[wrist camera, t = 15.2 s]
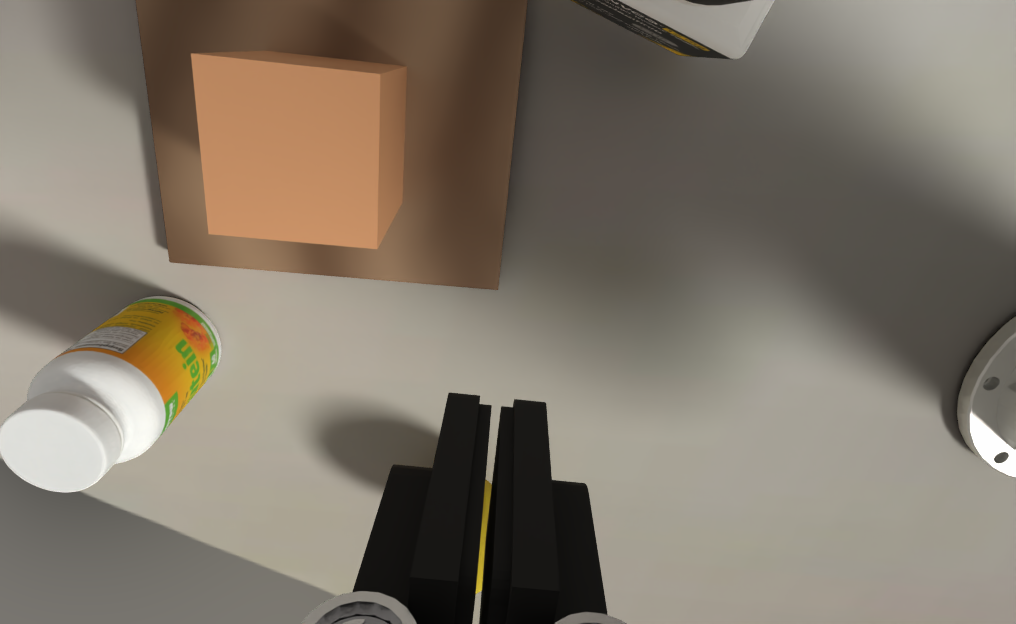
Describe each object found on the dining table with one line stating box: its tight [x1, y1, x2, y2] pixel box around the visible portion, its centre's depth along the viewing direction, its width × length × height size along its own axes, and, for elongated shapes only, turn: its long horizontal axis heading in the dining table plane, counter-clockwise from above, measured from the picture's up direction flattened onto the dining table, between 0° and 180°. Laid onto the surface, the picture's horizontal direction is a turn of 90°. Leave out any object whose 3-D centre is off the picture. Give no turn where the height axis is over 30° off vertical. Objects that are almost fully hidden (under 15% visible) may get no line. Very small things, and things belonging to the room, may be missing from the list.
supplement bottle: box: [0, 296, 221, 492], centre depth 28 cm, size 5×5×10 cm
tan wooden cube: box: [191, 51, 407, 249], centre depth 24 cm, size 6×6×7 cm
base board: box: [136, 0, 528, 290], centre depth 28 cm, size 16×14×1 cm
